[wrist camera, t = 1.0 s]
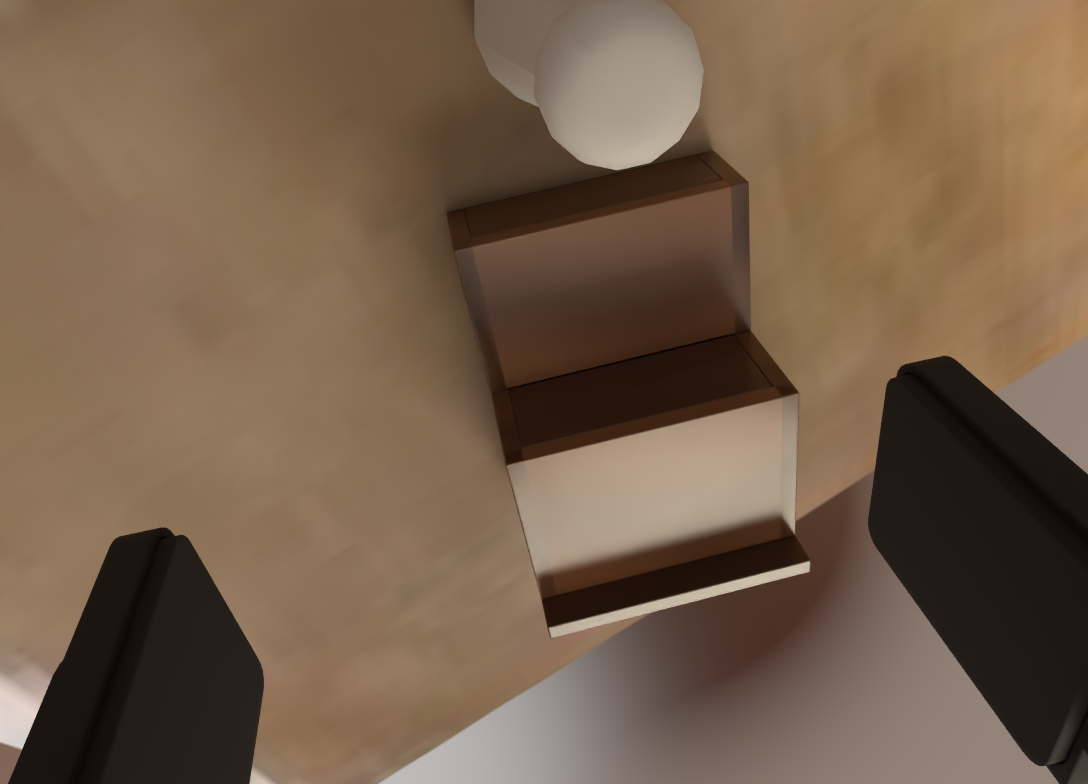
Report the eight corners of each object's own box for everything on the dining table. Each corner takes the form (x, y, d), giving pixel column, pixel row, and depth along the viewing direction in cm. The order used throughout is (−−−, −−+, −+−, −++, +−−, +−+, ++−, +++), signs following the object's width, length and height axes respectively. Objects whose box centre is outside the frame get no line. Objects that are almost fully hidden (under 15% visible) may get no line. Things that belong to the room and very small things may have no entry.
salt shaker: (607, -95, 28) (743, -65, 17) (625, 69, 31) (749, 178, 21) (449, -59, 28) (491, -6, 17) (484, 103, 31) (538, 229, 21)
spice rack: (446, 212, 33) (469, 336, 25) (713, 150, 34) (826, 250, 25) (516, 481, 43) (550, 638, 34) (725, 429, 43) (810, 572, 35)
